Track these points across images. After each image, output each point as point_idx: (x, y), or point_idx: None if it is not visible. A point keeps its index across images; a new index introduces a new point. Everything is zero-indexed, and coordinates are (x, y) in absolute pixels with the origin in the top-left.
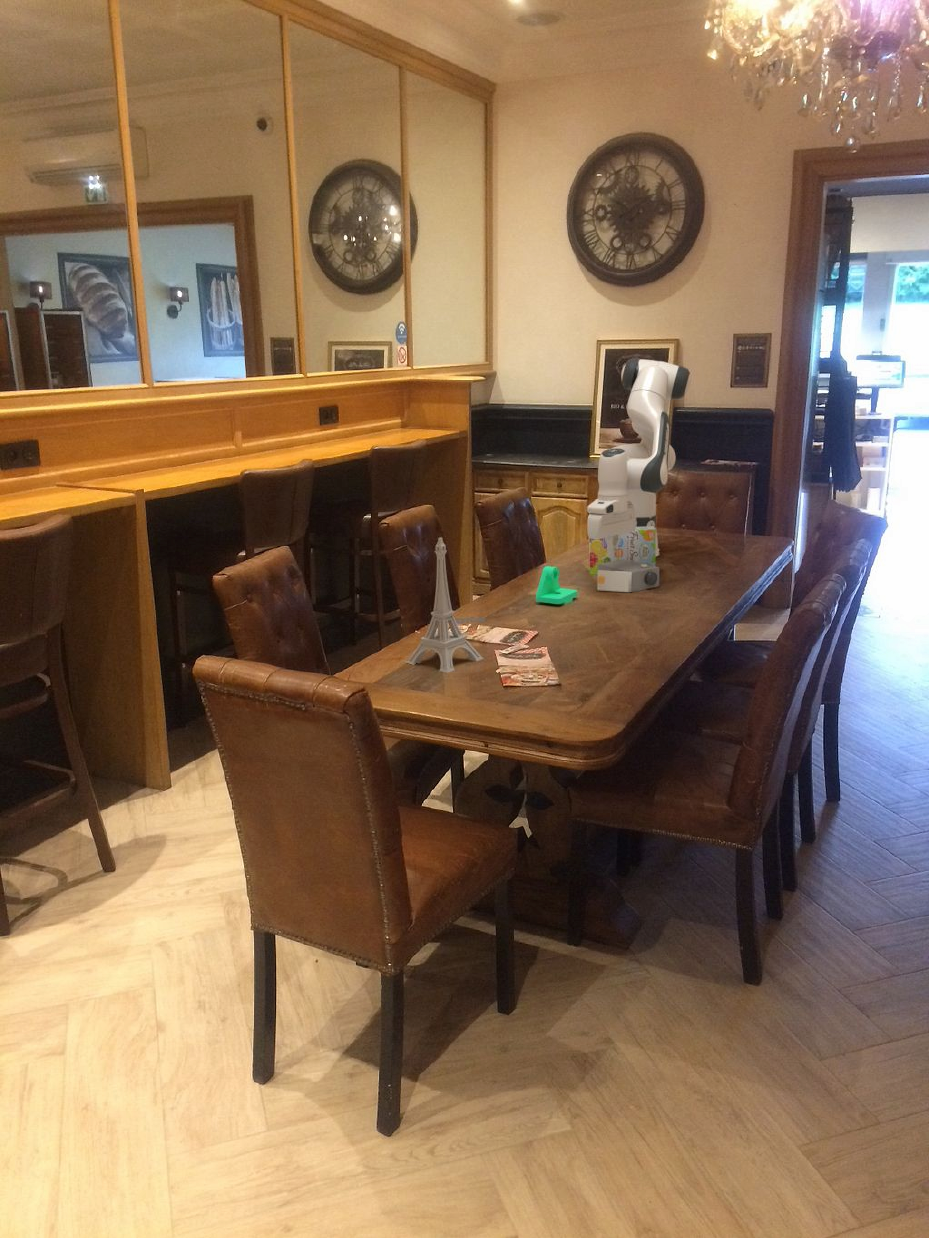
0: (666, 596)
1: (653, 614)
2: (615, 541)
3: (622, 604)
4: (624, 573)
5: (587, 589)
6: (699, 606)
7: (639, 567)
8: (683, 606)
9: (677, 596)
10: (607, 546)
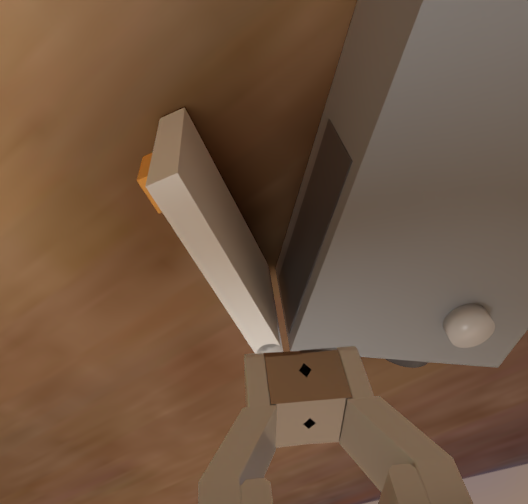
0: None
1: (46, 474)
2: (365, 450)
3: (51, 362)
4: (244, 331)
5: (141, 27)
6: None
7: (449, 305)
8: None
9: None
10: (246, 388)
